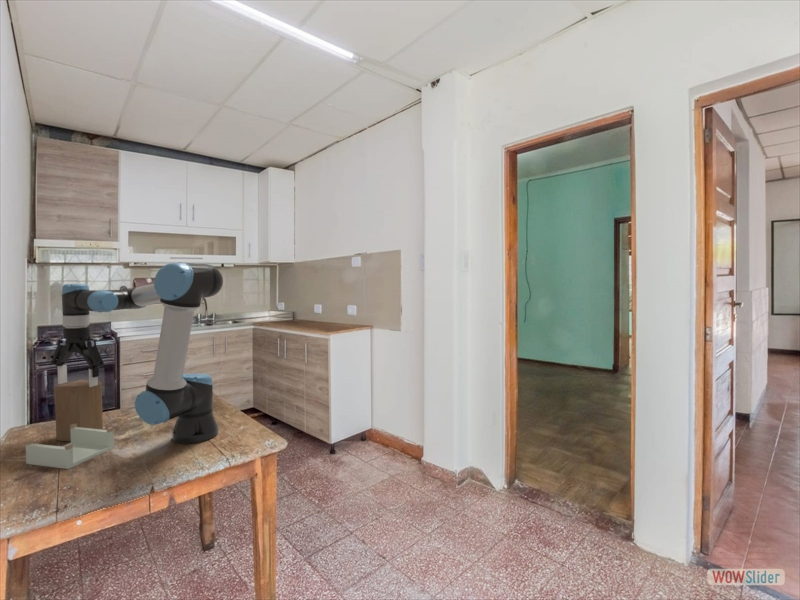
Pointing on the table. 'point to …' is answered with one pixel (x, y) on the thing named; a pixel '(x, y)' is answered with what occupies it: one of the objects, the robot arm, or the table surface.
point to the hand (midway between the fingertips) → (77, 384)
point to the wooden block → (77, 407)
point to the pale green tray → (71, 448)
